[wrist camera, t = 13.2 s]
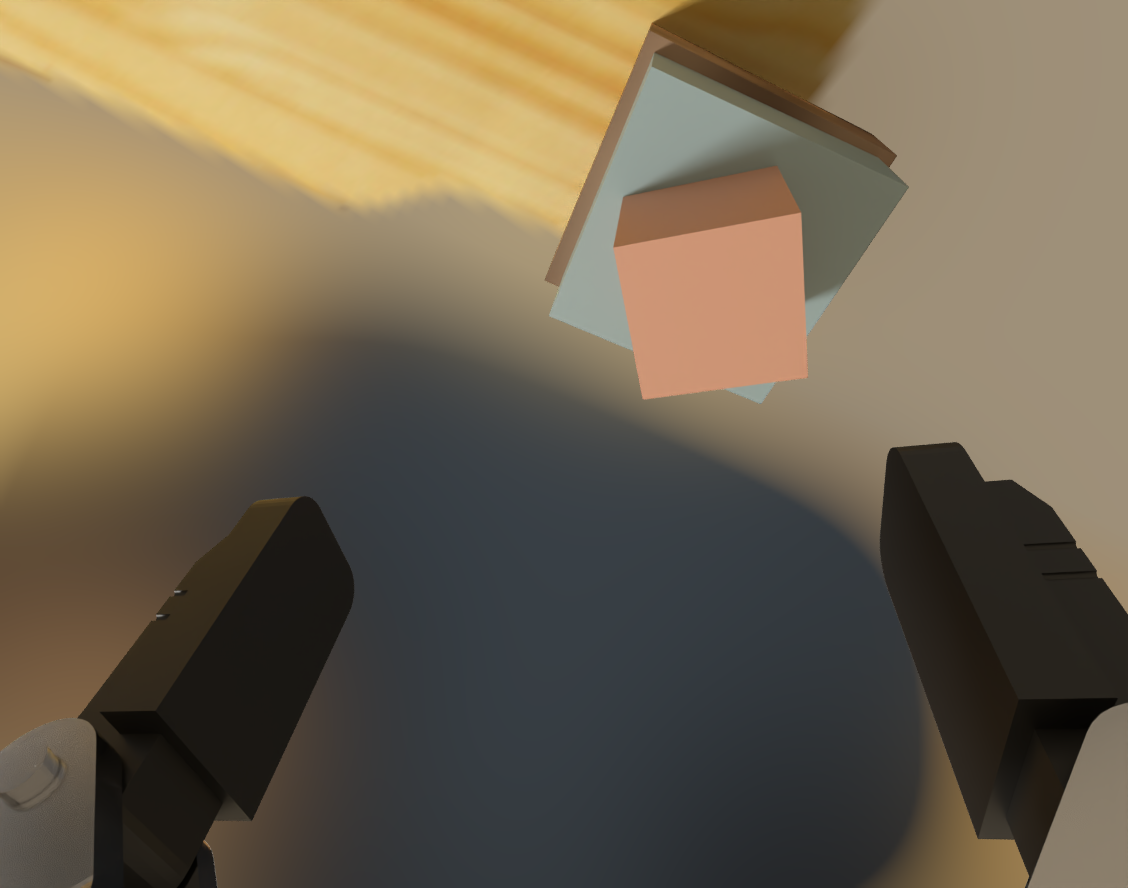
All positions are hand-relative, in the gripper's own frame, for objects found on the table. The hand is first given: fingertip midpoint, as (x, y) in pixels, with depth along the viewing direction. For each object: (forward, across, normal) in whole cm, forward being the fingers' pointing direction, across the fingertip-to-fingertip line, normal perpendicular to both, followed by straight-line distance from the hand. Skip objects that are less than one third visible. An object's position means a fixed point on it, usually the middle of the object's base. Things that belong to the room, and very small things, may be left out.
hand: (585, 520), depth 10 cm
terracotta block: (+16, -2, +2) cm, 17 cm away
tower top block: (+20, -3, +3) cm, 21 cm away
